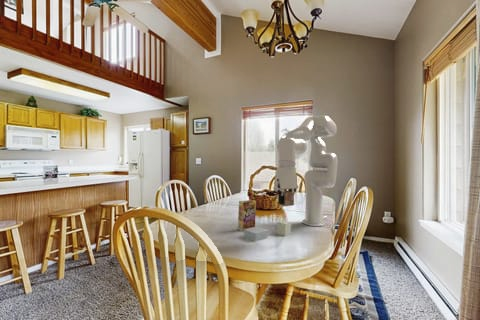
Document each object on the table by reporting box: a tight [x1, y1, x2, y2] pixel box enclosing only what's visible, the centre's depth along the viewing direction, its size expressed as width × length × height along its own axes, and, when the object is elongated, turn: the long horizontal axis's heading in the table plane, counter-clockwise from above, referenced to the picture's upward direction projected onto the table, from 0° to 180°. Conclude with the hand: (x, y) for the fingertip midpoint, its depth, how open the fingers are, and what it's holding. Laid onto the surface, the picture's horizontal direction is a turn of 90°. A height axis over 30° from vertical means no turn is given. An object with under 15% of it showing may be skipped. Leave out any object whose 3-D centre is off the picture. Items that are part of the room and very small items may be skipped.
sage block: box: [276, 219, 292, 237], centre depth 118 cm, size 5×5×6 cm
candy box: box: [237, 199, 257, 232], centre depth 124 cm, size 9×4×15 cm, turn 123°
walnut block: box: [277, 190, 295, 207], centre depth 108 cm, size 5×5×6 cm
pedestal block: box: [243, 226, 269, 243], centre depth 112 cm, size 8×8×4 cm
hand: (285, 203), depth 108 cm, fingers closed on walnut block, 5 cm apart
